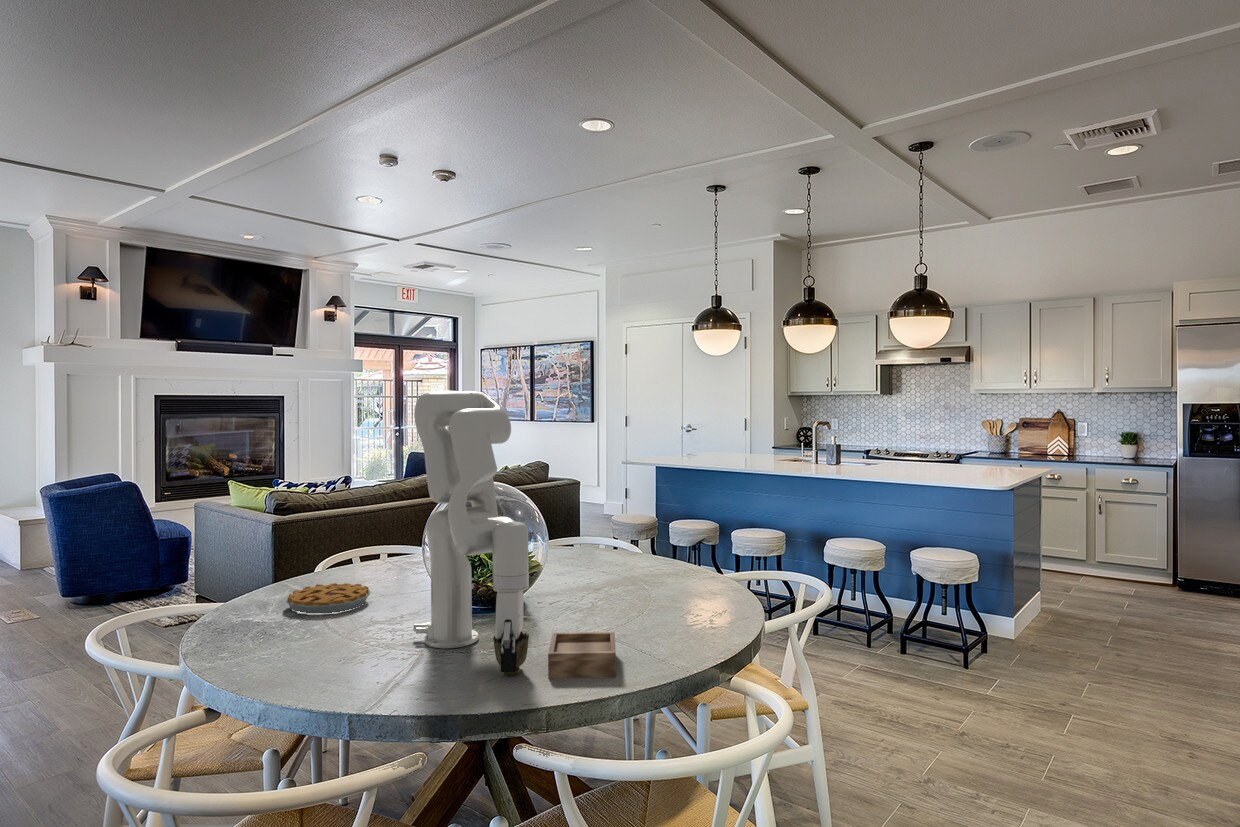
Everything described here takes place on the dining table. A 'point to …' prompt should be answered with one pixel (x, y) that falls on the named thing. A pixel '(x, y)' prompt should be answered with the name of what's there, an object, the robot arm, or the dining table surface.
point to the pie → (328, 598)
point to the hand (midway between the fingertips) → (511, 664)
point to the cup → (520, 649)
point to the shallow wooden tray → (582, 655)
